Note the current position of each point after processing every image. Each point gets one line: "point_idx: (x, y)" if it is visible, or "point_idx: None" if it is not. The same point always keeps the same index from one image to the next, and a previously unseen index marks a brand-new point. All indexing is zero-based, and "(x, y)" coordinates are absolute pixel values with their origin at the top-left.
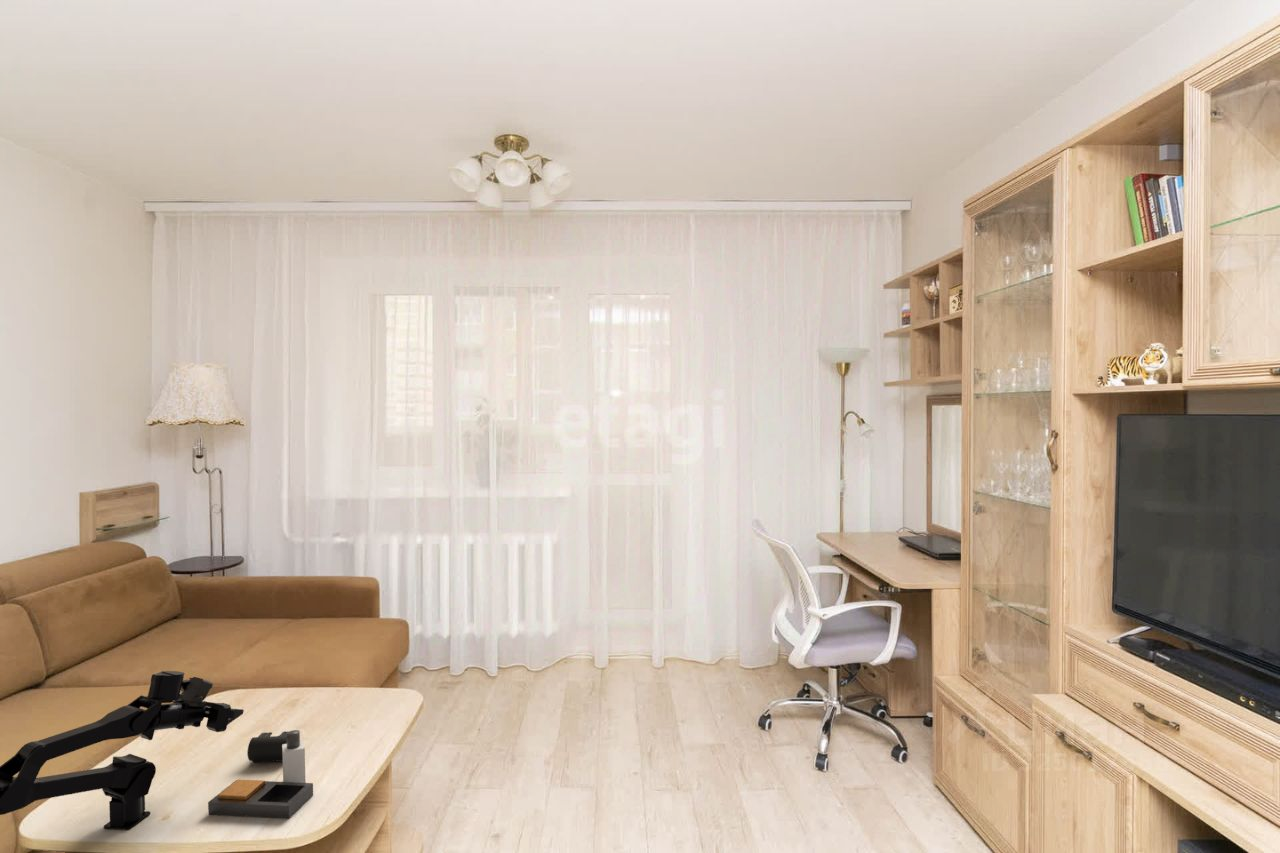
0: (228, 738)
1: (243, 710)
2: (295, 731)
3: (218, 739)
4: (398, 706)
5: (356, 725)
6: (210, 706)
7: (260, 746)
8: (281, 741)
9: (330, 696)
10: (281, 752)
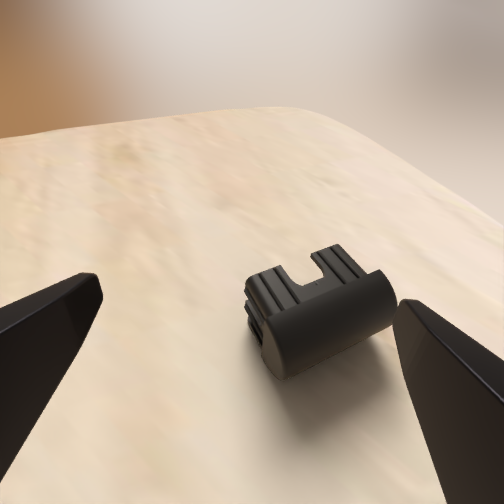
0: None
1: (419, 305)
2: None
3: None
4: (330, 131)
5: (330, 178)
6: (27, 359)
7: (324, 341)
8: (380, 300)
9: (181, 131)
10: (383, 327)
